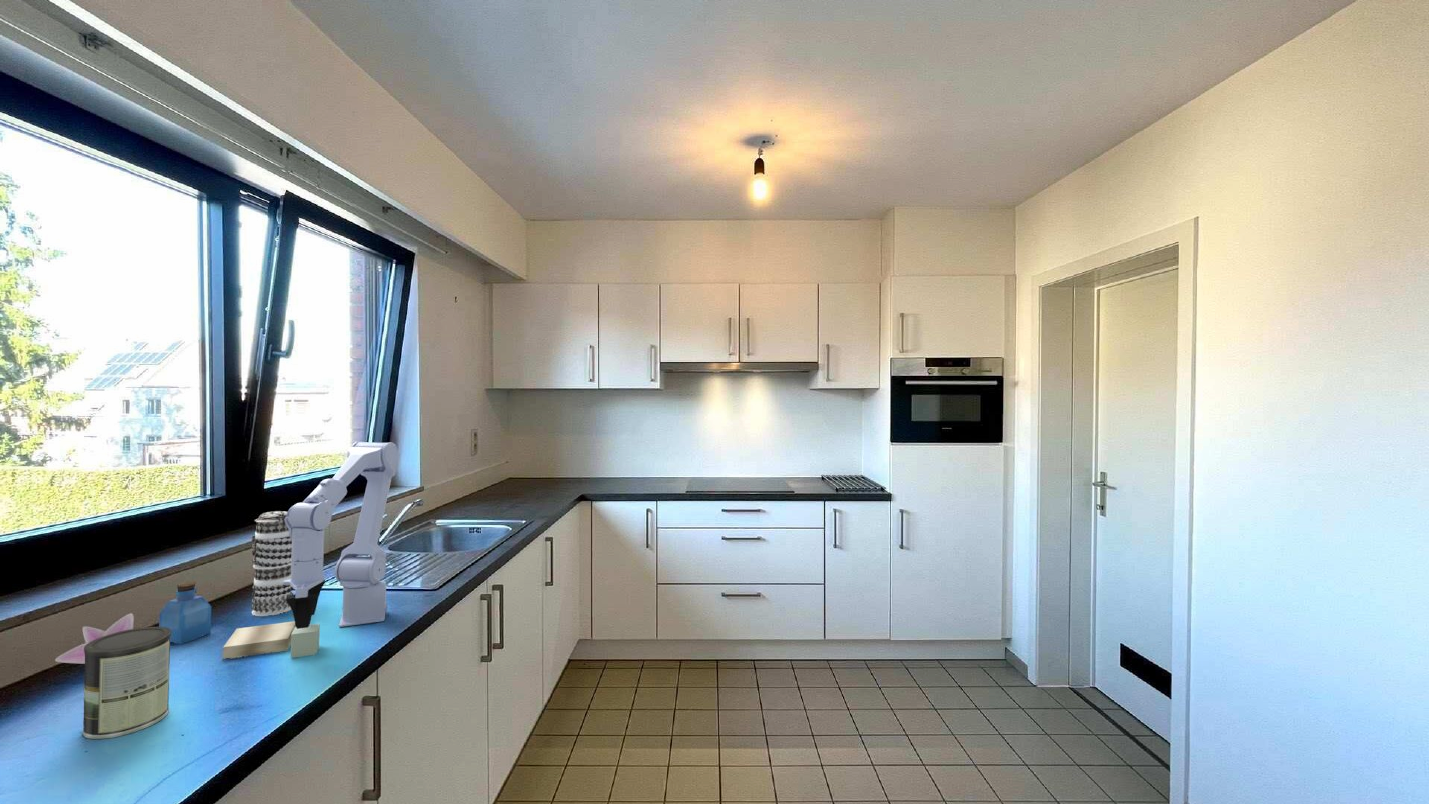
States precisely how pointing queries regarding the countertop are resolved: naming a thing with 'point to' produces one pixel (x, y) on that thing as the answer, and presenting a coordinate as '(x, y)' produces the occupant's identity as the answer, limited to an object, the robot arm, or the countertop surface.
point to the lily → (91, 634)
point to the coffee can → (126, 682)
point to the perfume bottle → (186, 615)
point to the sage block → (305, 641)
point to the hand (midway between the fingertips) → (305, 621)
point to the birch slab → (259, 640)
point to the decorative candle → (271, 564)
